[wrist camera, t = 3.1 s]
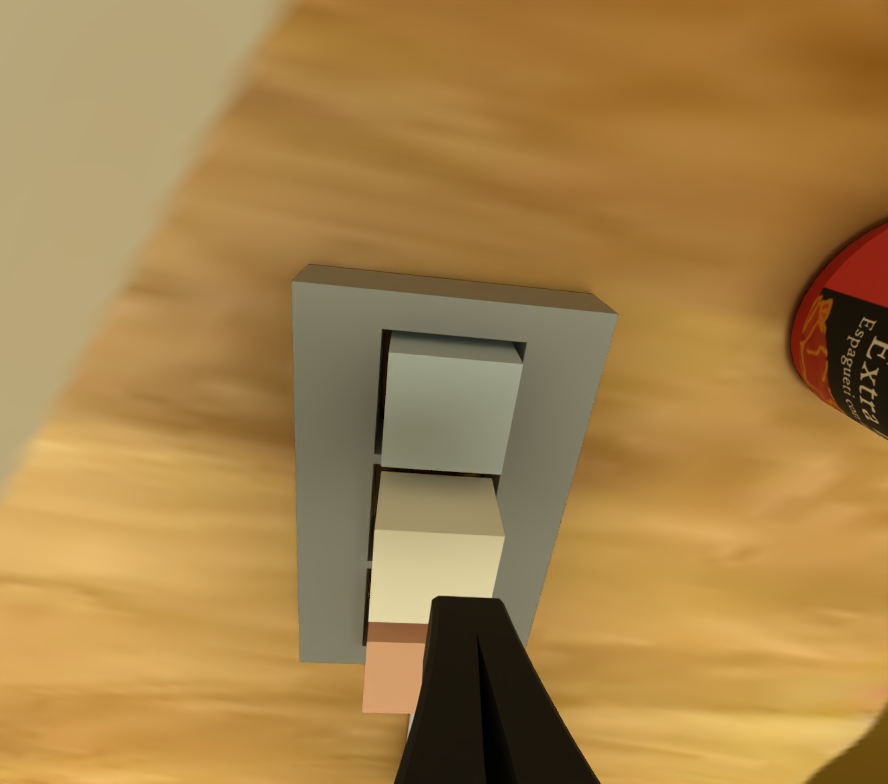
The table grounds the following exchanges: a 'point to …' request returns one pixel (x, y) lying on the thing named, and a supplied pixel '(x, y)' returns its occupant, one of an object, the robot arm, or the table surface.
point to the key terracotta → (393, 667)
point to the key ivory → (432, 543)
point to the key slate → (449, 402)
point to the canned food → (848, 332)
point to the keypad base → (361, 431)
